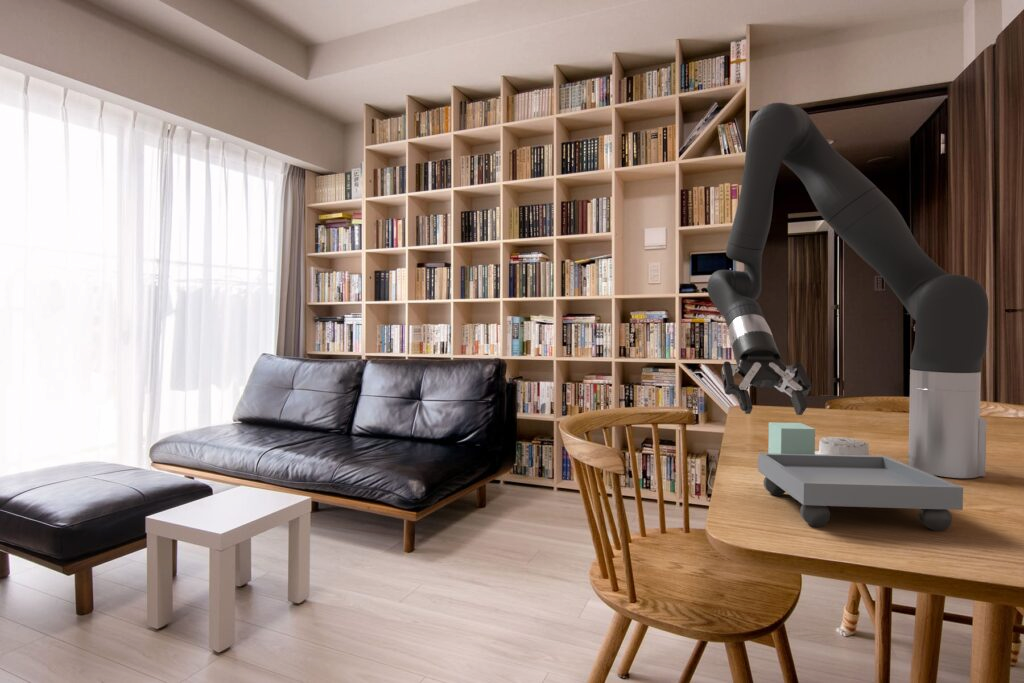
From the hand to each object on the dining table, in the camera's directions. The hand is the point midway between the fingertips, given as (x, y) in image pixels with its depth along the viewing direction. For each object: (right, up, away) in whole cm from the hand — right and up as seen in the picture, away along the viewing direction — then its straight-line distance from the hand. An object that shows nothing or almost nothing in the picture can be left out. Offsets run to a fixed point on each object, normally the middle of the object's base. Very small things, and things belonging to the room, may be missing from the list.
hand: (775, 411), depth 89 cm
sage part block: (-1, -10, -6) cm, 12 cm away
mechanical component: (+15, -10, +5) cm, 19 cm away
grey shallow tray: (0, -11, -19) cm, 22 cm away
